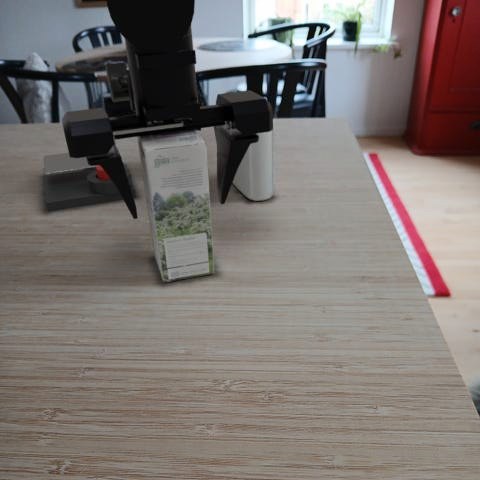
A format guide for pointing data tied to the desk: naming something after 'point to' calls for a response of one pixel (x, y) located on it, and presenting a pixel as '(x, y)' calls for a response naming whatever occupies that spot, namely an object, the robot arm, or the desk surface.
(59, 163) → the weighing pan
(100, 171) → the button
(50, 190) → the dark grey flat piece
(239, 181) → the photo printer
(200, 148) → the syrup box
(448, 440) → the desk surface
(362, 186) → the desk surface
